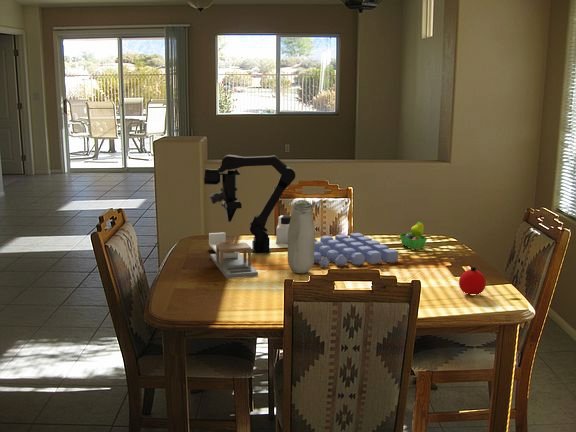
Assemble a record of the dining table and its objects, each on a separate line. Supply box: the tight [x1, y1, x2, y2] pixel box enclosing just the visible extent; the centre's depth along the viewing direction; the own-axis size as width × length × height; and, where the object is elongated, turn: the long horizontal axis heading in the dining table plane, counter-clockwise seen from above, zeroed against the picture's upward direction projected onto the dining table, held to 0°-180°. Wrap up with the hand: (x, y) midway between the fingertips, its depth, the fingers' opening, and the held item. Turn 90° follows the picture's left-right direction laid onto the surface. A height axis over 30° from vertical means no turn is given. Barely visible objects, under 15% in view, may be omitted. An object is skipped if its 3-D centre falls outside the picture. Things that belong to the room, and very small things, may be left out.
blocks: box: [313, 232, 399, 268], centre depth 280 cm, size 35×34×5 cm
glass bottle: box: [287, 199, 316, 274], centre depth 251 cm, size 10×10×28 cm
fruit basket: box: [399, 221, 428, 249], centre depth 293 cm, size 11×9×11 cm
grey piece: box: [209, 242, 259, 279], centre depth 260 cm, size 12×30×8 cm, turn 18°
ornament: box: [458, 266, 487, 295], centre depth 228 cm, size 9×9×10 cm
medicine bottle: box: [275, 214, 291, 245], centre depth 300 cm, size 7×7×12 cm
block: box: [220, 241, 236, 253], centre depth 269 cm, size 5×5×4 cm
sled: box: [208, 232, 239, 259], centre depth 276 cm, size 7×24×5 cm, turn 18°
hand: (229, 221), depth 281 cm, fingers closed
